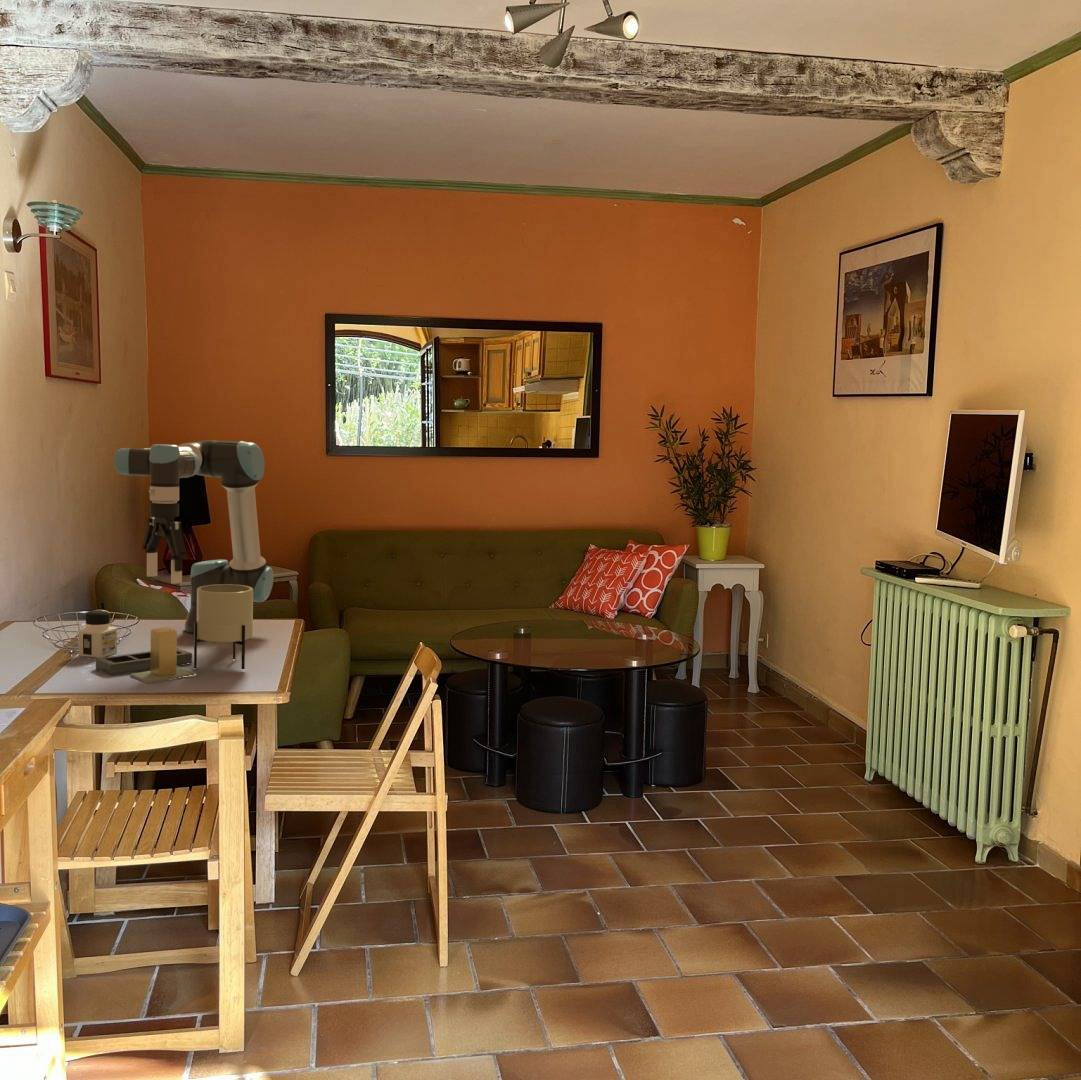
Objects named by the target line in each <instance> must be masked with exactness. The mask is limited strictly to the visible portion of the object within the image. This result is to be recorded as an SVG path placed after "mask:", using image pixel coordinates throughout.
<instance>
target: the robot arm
mask: <svg viewBox="0 0 1081 1080" xmlns="http://www.w3.org/2000/svg"><path fill="white" fill-rule="evenodd" d="M264 457H265V456H264V454H263V451H262V449H261V448H260V447H259V445H258V444H256V443H255V442H248V441H245V440H244V441H243V440H240V441H239V440H237V441H236V440H215V439H208V440H207V439H206V440H199V441H193V442H183V443H181V444H179V445H177V444H164V443H163V444H162V443H160V444H158V443H157V444H156V443H155V444H152V445H151V446H150V447H145V448H144V447H143V448H136V447H135V448H132V447H122V448H119V449H118V450H116V452H115V454H114V457H113V465H114V469H115V471H116V472H117V473H118V474H120V475H124V476H128V477H130V476H139V477H141V476H142V477H149V490H148V493H149V500H150V501H151V502H149V516H150V517H148V518H147V525H146V526H147V527H146V530H145V535H144V539H143V543H142V546H141V547H142V550H144V551H145V553H146V577H158V552H159V551H158V547H159V545H160V543H161V540H162V538H163V539H165V540H166V543H167V545H168V548H169V551H170V553H171V558H170V560H171V561H170V584H172V585H174V584H175V585H176V584H182V582H183V560H184V558H185V559H186V558H187V557H188V552H187V548H186V543H185V541H184V540H185V539H184V535H183V531H182V522H181V521H175V518H178V517H179V516H180V503H179V501H180V479H183V478H184V479H189V478H190V477H194V476H195V475H196V476H201V477H208V478H209V477H210V478H218V479H219V478H220V485H221V487H223V488H224V489H225V490H226V496H227V497H226V498H227V505H228V515H229V525H230V526H229V527H230V536H231V547H232V559H231V560H230V561H228V560H227V559H211V560H205V561H203V560H202V561H199V562H194V563H193V564H192V565H191V567H190V568H191V569H190V576H189V577H190V607H189V610H188V613H187V616H186V619H185V622H184V631H185V632H187V633H190V634H194V622H197V588H199V587H201V586H206V585H215V584H236V585H245V586H249V587H252V588H253V603H256V602H257V603H262V602H265V601H267V599H268V598H269V597H270V594H271V592H272V589H273V584H274V578H275V576H274V575H275V573H274V570H273V568H272V567H270V566H267V561H266V559H265V558H264V557H263V556H261V546H260V545H261V544H260V535H259V524H258V512H257V499H256V489H255V488H256V487H257V485H258V484H259V483H260V480H261V479H262V478H263V477H264V474H265V466H266V463H265V458H264Z"/></svg>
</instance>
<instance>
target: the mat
mask: <svg viewBox="0 0 1081 1080" xmlns="http://www.w3.org/2000/svg"><path fill="white" fill-rule="evenodd" d="M194 674H196V675H197V673H196V672H193V671H191V670H188V669H185V668H183V667H181V666H177V674H175V675H168V676H162V677H158V676H156V675H154V674H151V670H145V671H139V672H132V673H130V677H132V678H135V679H137V680H139V681H141V682H143V683H146V684H153V683H160V682H166V681H171V680H170V679H173V680H175V679H174V678H179V677H183V676H189V675H194ZM179 679H180V678H179Z"/></svg>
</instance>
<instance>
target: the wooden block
mask: <svg viewBox="0 0 1081 1080" xmlns="http://www.w3.org/2000/svg"><path fill="white" fill-rule="evenodd" d="M177 637H178V631H177V630H176V629H174V628H171V627H168V626H166V627H158V628H152V629H151V630H150V651H151V670H150V671H151V674H154V675H156V676H158V677H162V676H168V675H175V674H177V667H178V666H177V648H178V640H177V639H178V638H177Z"/></svg>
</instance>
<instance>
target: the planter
mask: <svg viewBox="0 0 1081 1080" xmlns="http://www.w3.org/2000/svg"><path fill="white" fill-rule="evenodd" d="M253 606H254V602H253V588H252V587H249V586H245V585H236V584H215V585H206V586H201V587H199V588H197V622H194V633H193V636H194V637H193V638H194V639H193V641H194V642H193V643H194V644H193V645H194V646H193V651H194V652H193V669H194V668H197V665H198V662H197V661H198V659H197V656H198V643H200V642H201V643H203V642H204V643H205V642H209V643H232V660H233V659H236V654H237V652H236V648H237V645H241V669H245V665H246V663H245V661H246V660H245V659H246V656H245V655H246V640H249V639H251V638H252V637H253V628H254V627H253V622H254V621H253V620H254V619H253V617H254V616H253V615H254V613H253V611H254V607H253ZM236 644H237V645H236ZM197 669H198V668H197ZM245 670H246V669H245Z"/></svg>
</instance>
